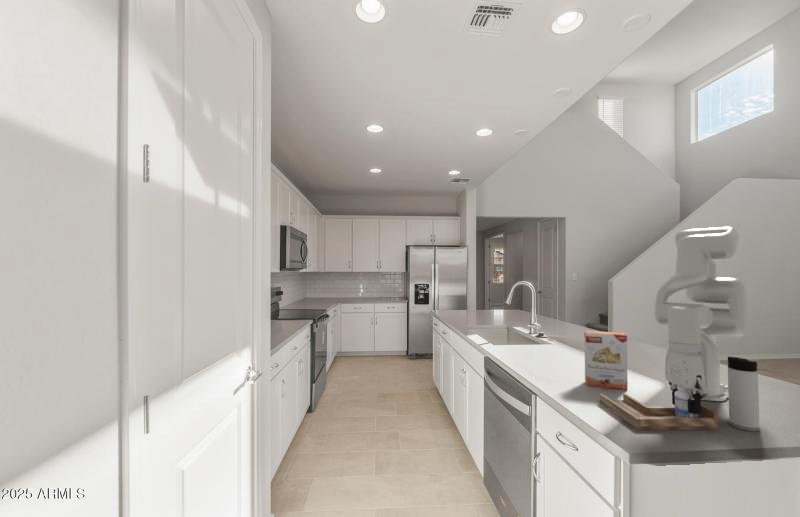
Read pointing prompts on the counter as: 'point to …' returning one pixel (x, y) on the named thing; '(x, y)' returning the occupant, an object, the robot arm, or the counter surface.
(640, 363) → the counter surface
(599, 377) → the cracker box
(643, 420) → the channel track
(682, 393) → the pill bottle
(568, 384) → the counter surface
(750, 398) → the travel mug
